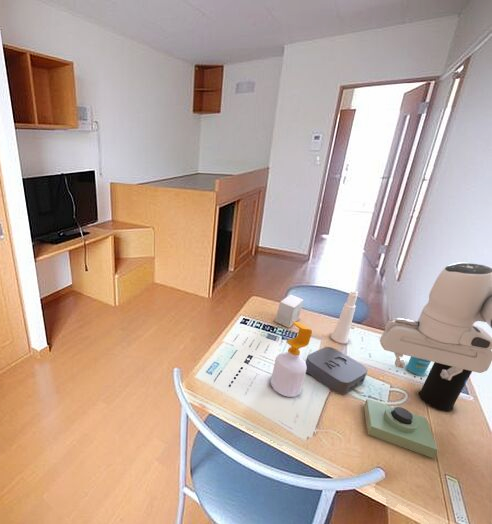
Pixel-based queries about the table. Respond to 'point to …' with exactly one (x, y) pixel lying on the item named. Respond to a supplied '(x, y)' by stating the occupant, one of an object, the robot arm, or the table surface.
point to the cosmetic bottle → (345, 319)
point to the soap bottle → (291, 365)
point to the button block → (399, 429)
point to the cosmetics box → (289, 310)
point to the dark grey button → (402, 415)
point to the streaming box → (335, 370)
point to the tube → (418, 365)
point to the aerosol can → (442, 388)
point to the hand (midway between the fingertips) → (421, 371)
